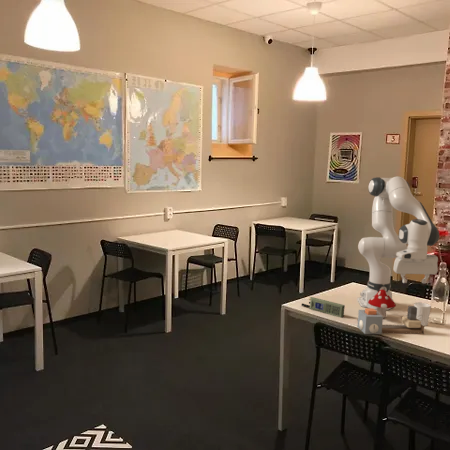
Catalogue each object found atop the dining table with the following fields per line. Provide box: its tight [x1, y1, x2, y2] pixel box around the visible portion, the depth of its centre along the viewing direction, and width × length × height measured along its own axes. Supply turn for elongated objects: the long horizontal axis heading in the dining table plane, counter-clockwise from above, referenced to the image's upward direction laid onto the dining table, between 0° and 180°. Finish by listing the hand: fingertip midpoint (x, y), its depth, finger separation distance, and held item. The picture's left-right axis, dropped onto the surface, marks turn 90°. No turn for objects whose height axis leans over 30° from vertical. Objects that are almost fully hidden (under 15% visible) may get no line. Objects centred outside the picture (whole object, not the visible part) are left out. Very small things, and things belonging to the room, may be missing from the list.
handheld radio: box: [301, 296, 346, 319], centre depth 259 cm, size 7×3×25 cm
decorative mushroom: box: [368, 289, 397, 319], centre depth 252 cm, size 14×14×15 cm
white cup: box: [413, 301, 432, 327], centre depth 245 cm, size 8×8×10 cm
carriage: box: [401, 305, 421, 328], centre depth 234 cm, size 7×6×9 cm
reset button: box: [364, 307, 377, 315], centre depth 232 cm, size 4×4×3 cm
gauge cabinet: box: [356, 309, 384, 335], centre depth 232 cm, size 10×8×8 cm
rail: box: [382, 324, 425, 335], centre depth 234 cm, size 8×21×4 cm, turn 95°
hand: (414, 282), depth 231 cm, fingers open, 8 cm apart
